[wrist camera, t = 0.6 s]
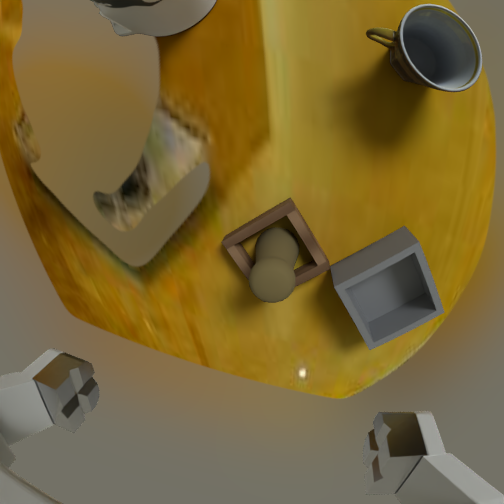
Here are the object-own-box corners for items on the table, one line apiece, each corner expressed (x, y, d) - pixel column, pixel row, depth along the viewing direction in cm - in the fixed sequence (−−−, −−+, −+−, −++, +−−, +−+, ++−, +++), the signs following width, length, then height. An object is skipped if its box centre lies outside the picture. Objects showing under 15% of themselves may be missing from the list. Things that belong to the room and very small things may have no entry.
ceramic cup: (445, 37, 29) (480, 21, 20) (444, 104, 33) (482, 102, 24) (354, 14, 30) (369, -14, 21) (352, 84, 34) (369, 73, 25)
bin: (330, 266, 44) (334, 287, 39) (404, 225, 40) (418, 241, 35) (363, 325, 47) (369, 350, 42) (430, 291, 43) (444, 312, 38)
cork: (287, 274, 46) (283, 319, 36) (248, 256, 45) (234, 297, 35) (307, 239, 43) (309, 276, 33) (266, 219, 43) (257, 252, 33)
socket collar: (225, 235, 44) (221, 242, 42) (290, 197, 41) (290, 202, 39) (265, 293, 47) (263, 302, 45) (328, 260, 44) (330, 268, 42)
